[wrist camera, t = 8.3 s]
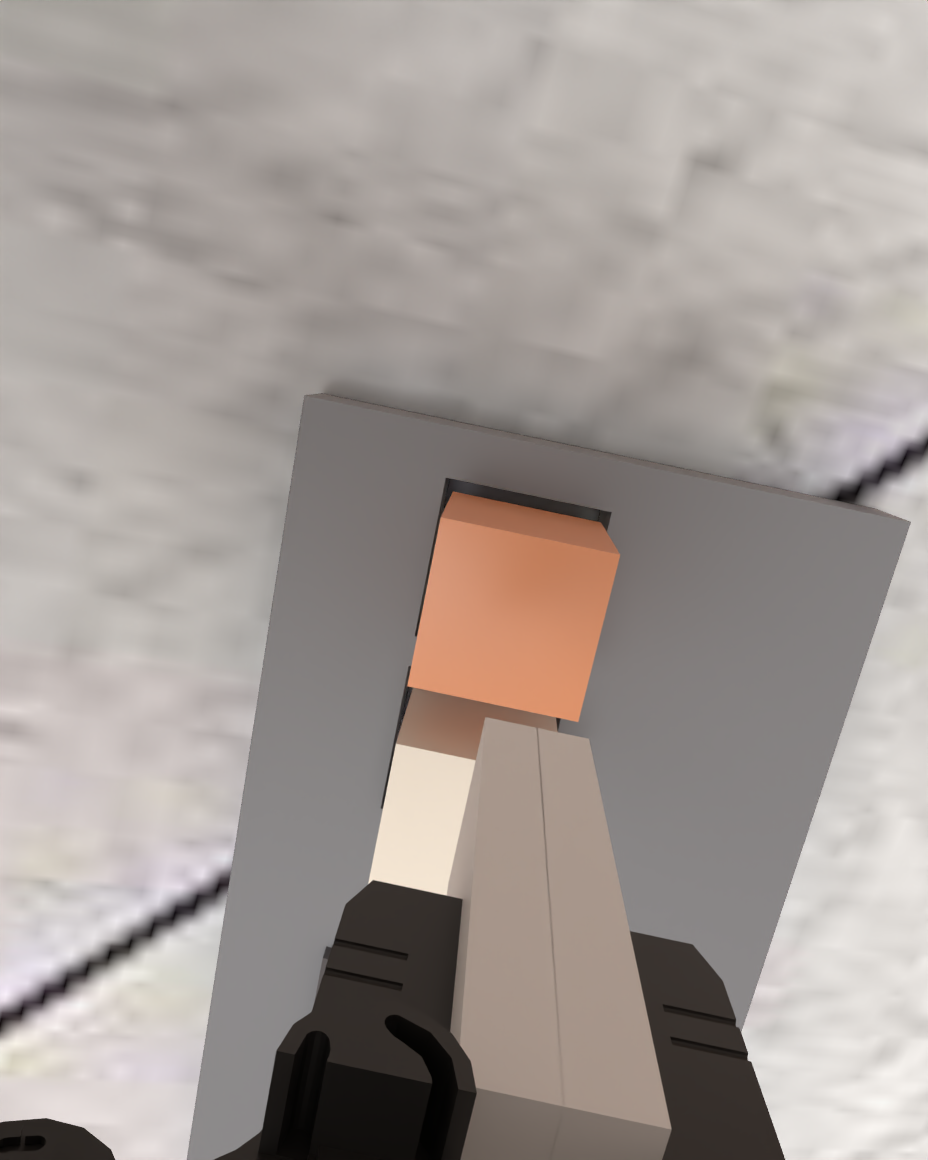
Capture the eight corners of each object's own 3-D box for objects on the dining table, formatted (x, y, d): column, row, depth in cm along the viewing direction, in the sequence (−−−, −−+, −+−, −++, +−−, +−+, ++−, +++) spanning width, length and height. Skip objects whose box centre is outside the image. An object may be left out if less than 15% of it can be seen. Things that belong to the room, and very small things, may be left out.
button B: (414, 681, 27) (396, 743, 22) (554, 710, 27) (563, 778, 22) (389, 808, 28) (366, 891, 23) (524, 836, 28) (526, 925, 23)
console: (322, 393, 28) (292, 396, 24) (875, 508, 28) (933, 530, 24) (197, 1180, 35) (159, 1277, 32) (630, 1272, 35) (644, 1380, 32)
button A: (453, 491, 25) (440, 517, 21) (601, 522, 25) (620, 554, 21) (424, 632, 26) (407, 686, 22) (566, 662, 26) (578, 722, 22)
